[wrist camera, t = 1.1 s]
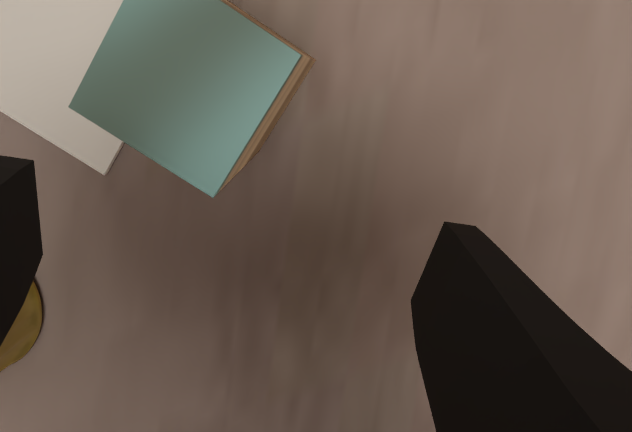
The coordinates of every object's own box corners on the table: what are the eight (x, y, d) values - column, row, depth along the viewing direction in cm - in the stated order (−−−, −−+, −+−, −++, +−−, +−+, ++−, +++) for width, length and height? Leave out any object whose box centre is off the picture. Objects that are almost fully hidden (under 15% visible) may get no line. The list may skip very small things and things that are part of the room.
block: (316, 59, 21) (301, 54, 13) (258, 151, 21) (213, 197, 14) (221, -4, 20) (147, -48, 12) (168, 92, 21) (67, 106, 13)
